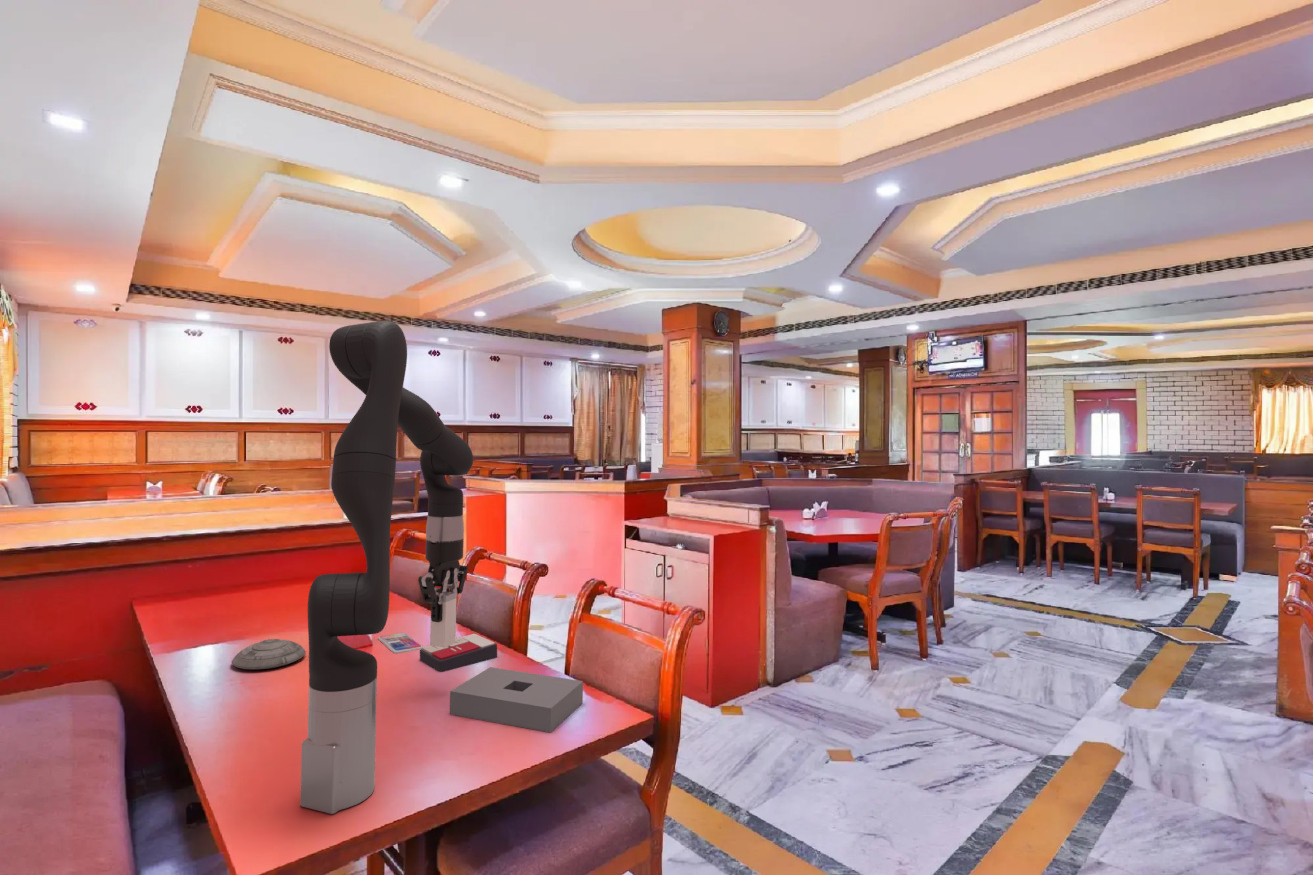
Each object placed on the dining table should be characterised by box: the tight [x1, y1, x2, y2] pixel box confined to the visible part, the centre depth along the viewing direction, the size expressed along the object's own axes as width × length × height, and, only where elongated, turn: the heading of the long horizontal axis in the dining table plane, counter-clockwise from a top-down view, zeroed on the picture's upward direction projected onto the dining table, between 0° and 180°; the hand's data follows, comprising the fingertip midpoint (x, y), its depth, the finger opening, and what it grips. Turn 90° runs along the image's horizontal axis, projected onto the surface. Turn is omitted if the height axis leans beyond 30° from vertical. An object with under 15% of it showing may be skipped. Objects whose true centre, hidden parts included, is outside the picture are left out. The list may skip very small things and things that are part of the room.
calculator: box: [419, 633, 498, 673], centre depth 154 cm, size 11×4×15 cm
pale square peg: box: [429, 590, 458, 648], centre depth 132 cm, size 4×4×11 cm
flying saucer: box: [231, 638, 307, 670], centre depth 149 cm, size 15×15×6 cm
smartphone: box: [378, 632, 424, 655], centre depth 164 cm, size 7×1×15 cm
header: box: [449, 666, 584, 733], centre depth 126 cm, size 14×22×4 cm, turn 72°
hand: (443, 618), depth 132 cm, fingers closed on pale square peg, 3 cm apart
